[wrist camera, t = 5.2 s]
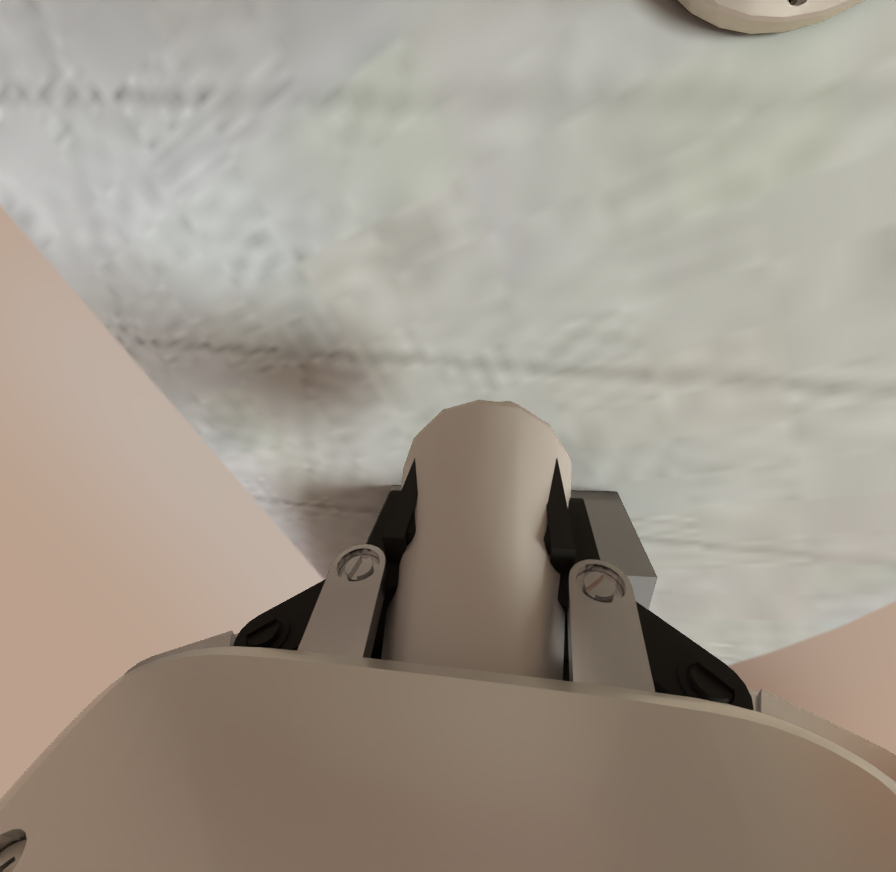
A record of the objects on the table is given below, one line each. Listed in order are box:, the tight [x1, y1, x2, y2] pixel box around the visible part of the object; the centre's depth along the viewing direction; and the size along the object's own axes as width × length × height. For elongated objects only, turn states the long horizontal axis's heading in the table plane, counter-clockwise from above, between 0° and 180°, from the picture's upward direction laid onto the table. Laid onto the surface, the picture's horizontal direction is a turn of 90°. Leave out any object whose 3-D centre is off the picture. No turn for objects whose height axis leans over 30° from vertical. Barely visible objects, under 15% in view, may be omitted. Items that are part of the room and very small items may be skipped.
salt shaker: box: [381, 400, 571, 680], centre depth 10 cm, size 6×6×13 cm
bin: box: [366, 485, 657, 609], centre depth 25 cm, size 15×15×7 cm
